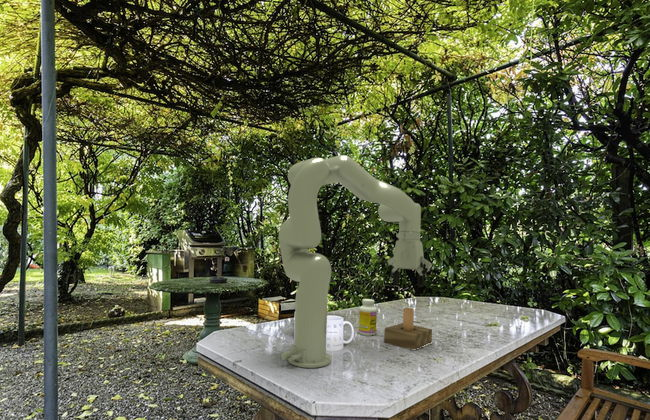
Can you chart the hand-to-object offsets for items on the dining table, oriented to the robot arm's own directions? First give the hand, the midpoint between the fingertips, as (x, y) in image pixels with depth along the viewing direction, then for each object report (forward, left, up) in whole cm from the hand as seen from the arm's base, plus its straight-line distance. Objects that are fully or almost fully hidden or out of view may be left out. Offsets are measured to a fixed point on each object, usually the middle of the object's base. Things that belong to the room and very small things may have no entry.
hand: (408, 285), depth 130 cm
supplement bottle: (-1, +17, -21) cm, 27 cm away
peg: (0, 0, -20) cm, 20 cm away
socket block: (0, 0, -20) cm, 20 cm away
